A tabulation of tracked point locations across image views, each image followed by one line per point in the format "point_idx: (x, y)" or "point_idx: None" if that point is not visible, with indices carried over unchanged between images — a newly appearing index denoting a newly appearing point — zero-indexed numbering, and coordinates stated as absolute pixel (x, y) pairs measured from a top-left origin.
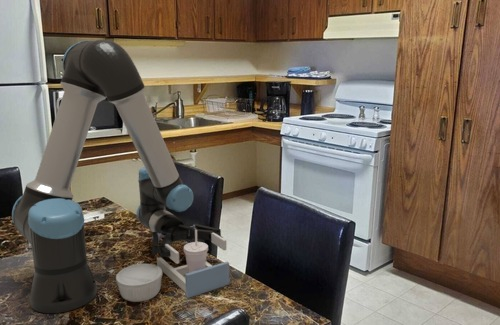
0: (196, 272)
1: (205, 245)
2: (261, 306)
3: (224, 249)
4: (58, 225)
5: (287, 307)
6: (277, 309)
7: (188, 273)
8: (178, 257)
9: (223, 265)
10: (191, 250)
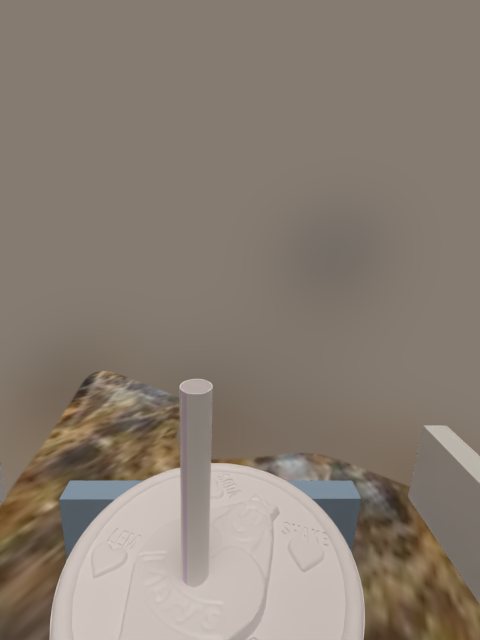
0: (293, 483)
1: (106, 536)
2: (136, 426)
3: (1, 489)
4: None
5: (94, 401)
6: (119, 406)
7: (340, 496)
8: (421, 459)
9: (112, 485)
10: (291, 509)
